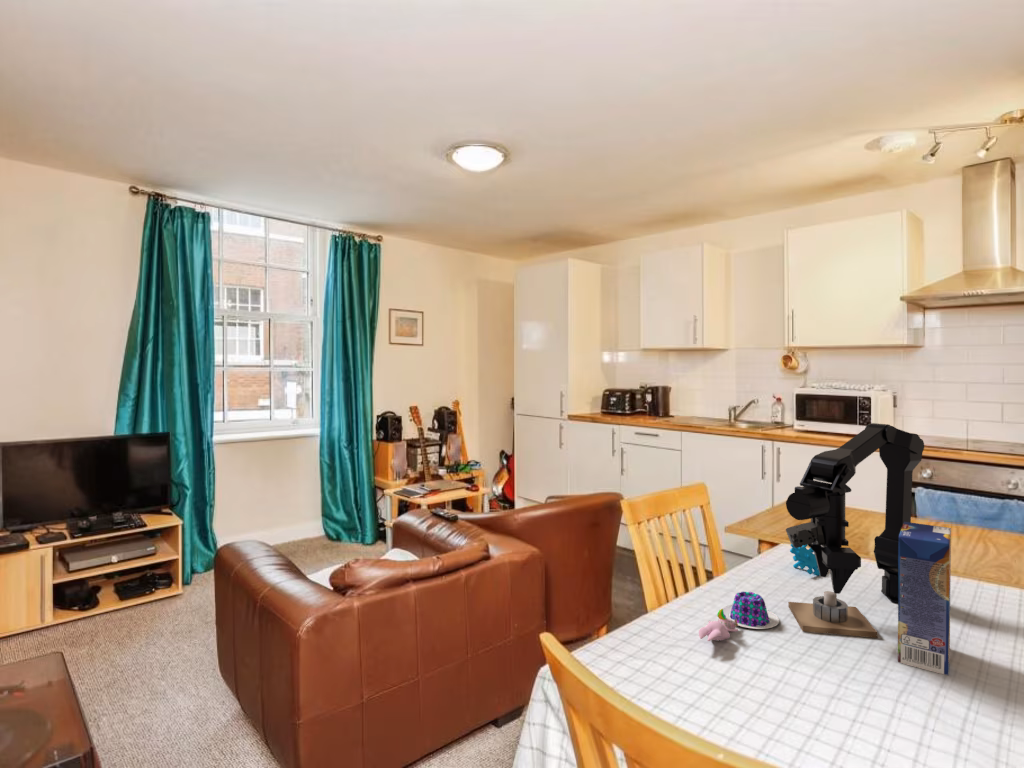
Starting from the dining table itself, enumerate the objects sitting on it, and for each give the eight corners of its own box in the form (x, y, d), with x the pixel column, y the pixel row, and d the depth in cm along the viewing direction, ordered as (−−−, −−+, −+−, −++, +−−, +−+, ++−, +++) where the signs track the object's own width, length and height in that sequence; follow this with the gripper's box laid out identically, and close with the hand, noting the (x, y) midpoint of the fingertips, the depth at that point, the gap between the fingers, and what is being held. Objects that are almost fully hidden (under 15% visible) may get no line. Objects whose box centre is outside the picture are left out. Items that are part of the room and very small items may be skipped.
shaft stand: (855, 612, 125) (856, 585, 125) (877, 637, 113) (877, 608, 113) (788, 606, 128) (788, 580, 128) (802, 631, 117) (802, 602, 116)
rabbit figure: (716, 627, 122) (688, 643, 111) (717, 600, 122) (690, 612, 111) (745, 636, 118) (719, 653, 106) (746, 607, 118) (721, 621, 107)
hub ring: (841, 610, 123) (841, 597, 123) (851, 624, 117) (851, 610, 117) (809, 608, 125) (809, 595, 125) (818, 621, 118) (818, 607, 118)
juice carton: (948, 676, 99) (949, 544, 99) (897, 662, 104) (898, 536, 103) (949, 648, 109) (951, 527, 108) (903, 637, 113) (904, 521, 113)
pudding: (783, 615, 125) (783, 592, 124) (773, 637, 115) (773, 612, 115) (728, 603, 132) (728, 581, 131) (714, 622, 122) (713, 599, 122)
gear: (807, 574, 143) (786, 539, 150) (792, 584, 147) (772, 550, 154) (835, 572, 148) (814, 538, 154) (820, 582, 152) (799, 549, 158)
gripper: (779, 501, 131) (779, 566, 131) (801, 524, 113) (800, 599, 113) (831, 503, 128) (831, 570, 129) (862, 527, 110) (861, 604, 111)
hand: (829, 584), depth 120 cm, fingers open, 9 cm apart
